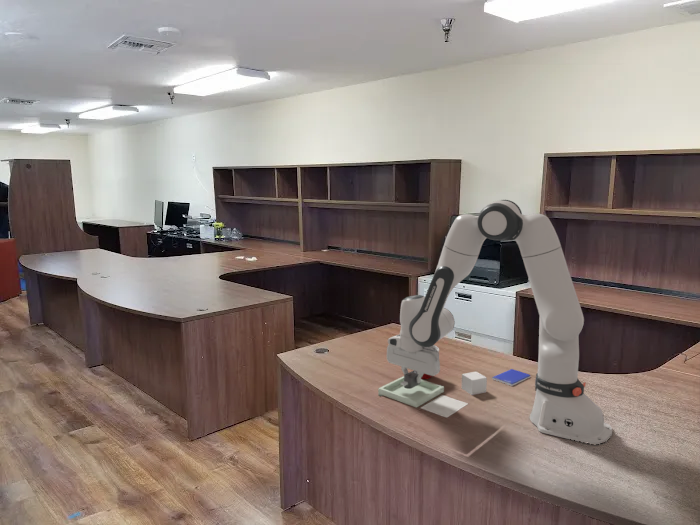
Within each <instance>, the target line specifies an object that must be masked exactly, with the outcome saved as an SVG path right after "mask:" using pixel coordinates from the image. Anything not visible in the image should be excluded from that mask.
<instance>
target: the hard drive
mask: <svg viewBox="0 0 700 525" xmlns="http://www.w3.org/2000/svg"><path fill="white" fill-rule="evenodd" d="M530 378H531V374H530V373H529V374H528V373H525V372H523V371H519V370H516V369H513V368H511V369H508V370H505V371H503V372H502V373H501V372H500V373H498V374H497V375H494V376H492V377H491V380H492V379H493V381H495V380H496V381H495V382H498V381H499V382H498V383H501V382H502V383H501V384H504V383H505V384H504V385H506V384H507V385H506V386H509V385H510V387H513V386H515V385H518V384H520V383H522V382H524V381H526V380H528V379H530Z"/></svg>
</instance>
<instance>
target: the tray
mask: <svg viewBox="0 0 700 525" xmlns="http://www.w3.org/2000/svg"><path fill="white" fill-rule="evenodd" d="M403 381H404V375H403V376H401V377H399V378H397V379H395V380H393V381H390V382H389V383H387V384H384V385H382V386H380V387H378V389H377V390H378V392H377V394H378V396H380V397H382V396H384V397H387V398H389V399H392V400H395V401H398V402H401V403H403V404H405V405H408V406H411V407H413V408H416V409H417V408H418V407H420V406H423V405H425V403H426V404H427V403H428V402H430V401H432V400H433V399H434V398H437V397H439V396H440V395H442V394H443V393H444V392H445V386H444V385H441V384H437V383H434V382H431V381H427V380H426V379H421V383H420V384H419V385H417V386H415V387H413V388H411V389H407V388H404V386H403V385H401V382H403Z"/></svg>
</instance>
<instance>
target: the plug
mask: <svg viewBox="0 0 700 525" xmlns="http://www.w3.org/2000/svg"><path fill="white" fill-rule="evenodd" d="M418 375H419V374H417V371H415V370H412V371H408V373H407V374H405V375H404V374H403V376H404V381H403V382H401V385H403V386H404V388H407V389H411V388H413V387H415V386H417V385H419V384H420V383H421V382H420V383H416V382H415V377H417V376H418Z"/></svg>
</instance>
